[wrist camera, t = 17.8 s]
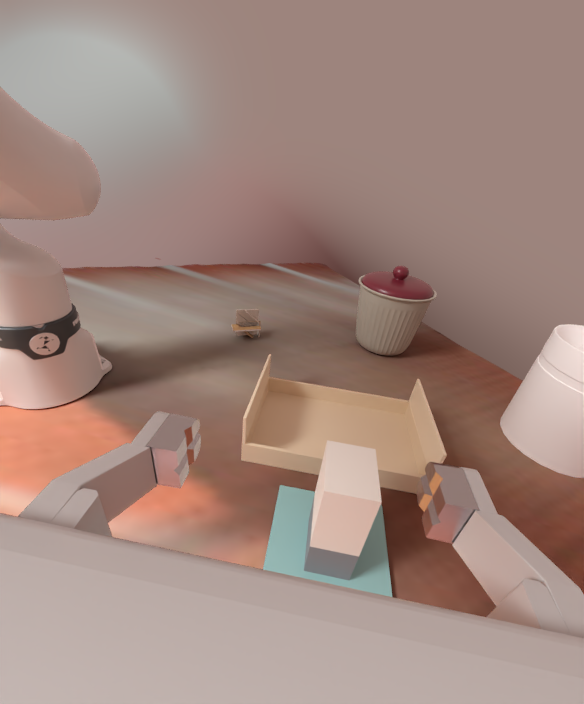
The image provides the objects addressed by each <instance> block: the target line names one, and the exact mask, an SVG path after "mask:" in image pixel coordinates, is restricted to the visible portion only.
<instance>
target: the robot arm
mask: <svg viewBox="0 0 584 704" xmlns="http://www.w3.org/2000/svg"><path fill="white" fill-rule="evenodd" d="M100 193H101V184H100V178H99V174H98V171H97V169H96V166H95V164H94V163H93V161H92V159H91V157H90V156H89V155H88V153H87V152H86V151H85V150H84V148H83V147H82V146H81V145H80V144H79V143H77V142H76V141H75V140H74V139H72V138H70V137H68V136H66V135H63V134H62V133H60V132H58V131H56V130H54V129H52V128H51V127H49V126H47V125H46V124H44V123H43V122H41V121H40V120H38V119H37V118H36V117H34V116H33V115H32V114H30V113H29V112H28V111H27V110H25V109H24V108H22V107H21V106H20V105H19V104H18V103H17V102H16V101H15V100H14V99H12V98H11V97H10V96H9V95H8V94H7V93H6V92H5V91H4V90H3V89H2V88H1V87H0V218H6V219H32V220H34V219H35V220H60V219H67V218H74V217H81V216H87V215H90V214H91V212H92V211H93V210H94V209H95V207H96V206H97V204H98V201H99V198H100ZM111 369H112V364H111V362H109V361H108V360H107V359H105V358H104V357H102V356H101V355H99V353H98V349H97V346H96V343H95V340H94V337H93V334H92V333H89V332H88V331H87V330H85V329H82V328H81V327H80V321H79V315H78V312H77V311H76V308H75V306H74V305H73V304H72V303H71V300H70V296H69V293H68V289H67V285H66V282H65V278H64V274H63V270H62V267H61V265H60V264H59V263H58V261H57V260H56V259H55V258H54V257H53V256H52V255H51V254H49V253H48V252H47V251H45V250H43V249H41V248H39V247H37V246H34V245H32V244H29V243H26V242H24V241H21V240H19V239H17V238H16V237H14V236H13V235H11V234H10V233H9V232H8V231H7V230H6V229H5V228H4V227H3V226H2V225H1V224H0V406H1V405H8V406H13V407H17V408H22V409H42V408H49V407H54V406H58V405H62V404H65V403H68V402H71V401H73V400H76V399H78V398H80V397H82V396H83V395H85V394H87V393H88V392H90V391H91V390H92V389H93V388H95V387H96V385H97V384H98V383H99V381H100V380H101V378H102V376H103V375H105V374H106V373H107V372H109V371H110V370H111ZM199 428H200V421H199V420H198V419H195V418H190V417H186V416H181V415H176V414H170V413H165V412H161V411H158V412H156V413H154V415H153V416H152V417H151V418H150V420H149V421H148V422H147V423H146V425H145V426H144V427H143V429H142V430H141V431H140V432H139V434H138V435H137V436H136V438H135V439H134V440H133V441H132V443H131V444H129V443H126V444H124V445H122V446H120V447H118V448H116V449H114V450H112V451H110V452H108V453H106V454H104V455H102V456H100V457H98V458H96V459H94V460H92V461H90V462H88V463H86V464H84V465H82V466H80V467H78V468H75V469H73V470H71V471H69V472H67V473H65V474H63V475H61V476H59V477H57V478H55V479H53V480H52V481H51V482H50V483H49V484H48V485H47V486H46V487H45V488H44V489H43V490H42V491H41V493H40V494H39V495H38V496H37V497H36V498H35V499H34V500H33V501H32V502H31V503H30V504H29V505H28V506H27V507H26V508H25V509H24V511H23V512H22V513H21V514H20V515H19V516H18V517H17V516H12V515H7V514H3V513H0V704H584V594H583V592H582V591H581V589H580V588H579V587H578V586H577V585H576V584H575V583H574V582H573V581H572V580H571V579H570V578H569V577H567V576H566V575H565V574H564V573H563V572H562V571H561V570H560V569H559V568H558V567H557V566H556V565H555V564H554V563H553V562H552V561H550V560H549V559H548V558H547V557H546V556H545V555H544V554H543V553H542V552H541V551H540V550H539V549H538V548H537V547H536V546H535V545H534V544H532V543H531V542H530V541H529V540H528V539H527V538H526V537H525V536H524V535H523V534H522V533H521V532H520V531H519V530H518V529H517V528H515V527H514V526H513V525H512V524H511V523H510V522H509V521H508V520H507V519H506V518H505V517H504V516H502V515H498V513H497V511H496V509H495V507H494V505H493V502H492V500H491V498H490V496H489V494H488V491H487V489H486V487H485V485H484V483H483V480H482V478H481V476H480V474H479V472H478V471H477V470H475V469H469V468H464V467H458V466H452V465H447V464H441V463H435V462H429V463H428V464H427V465H426V467H425V472H426V475H424V476H422V477H421V478H420V480H419V482H418V486H417V500H418V505H419V507H420V508H421V509H422V510H423V511H424V514H423V516H422V518H421V519H422V523H423V527H424V532H425V536H426V538H430V539H434V540H439V541H443V542H447V543H452V545H453V547H454V548H455V550H456V551H457V552H458V554H459V555H460V557H461V558H462V559H463V561H464V562H465V564H466V565H467V566H468V568H469V569H470V570H471V572H472V573H473V575H474V576H475V577H476V579H477V580H478V582H479V583H480V584H481V586H482V587H483V589H484V590H485V591H486V593H487V594H488V595H489V597H490V598H491V600H492V601H493V602H494V604H495V605H496V608H495V609H494V610H493V611H492V612H491V613H490V614H489V615H488V616H487V617H482V616H478V615H473V614H468V613H464V612H459V611H454V610H450V609H445V608H440V607H436V606H431V605H426V604H422V603H417V602H412V601H408V600H403V599H398V598H394V597H389V596H384V595H380V594H375V593H371V592H366V591H361V590H357V589H352V588H347V587H343V586H338V585H333V584H329V583H324V582H319V581H315V580H310V579H305V578H301V577H296V576H291V575H287V574H282V573H277V572H273V571H268V570H263V569H259V568H254V567H249V566H244V565H240V564H235V563H230V562H226V561H221V560H217V559H212V558H207V557H203V556H198V555H193V554H189V553H184V552H179V551H175V550H170V549H165V548H161V547H156V546H151V545H147V544H142V543H137V542H133V541H128V540H123V539H119V538H114V537H112V534H111V531H110V528H109V525H108V522H110V521H111V520H112V519H114V518H115V517H116V516H118V515H119V514H120V513H122V512H123V511H124V510H125V509H127V508H128V507H129V506H131V505H132V504H133V503H135V502H136V501H137V500H139V499H140V498H141V497H143V496H144V495H145V494H147V493H148V492H149V491H150V490H152V489H153V488H154V487H156V486H157V484H158V485H164V486H170V487H176V488H181V487H182V485H183V483H184V481H185V479H186V477H187V475H188V473H189V465H190V464H192V463H193V462H195V460H196V458H197V455H198V452H199V449H200V444H201V436H200V435H199V433H198V430H199Z"/></svg>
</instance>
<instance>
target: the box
mask: <svg viewBox="0 0 584 704" xmlns="http://www.w3.org/2000/svg"><path fill="white" fill-rule="evenodd" d="M381 503H382V501H381V492H380V484H379V475H378V466H377V457H376V449H372V448H367V447H361V446H356V445H350V444H345V443H339V442H334V441H329V440H327V443H326V447H325V451H324V456H323V460H322V464H321V469H320V473H319V477H318V482H317V486H316V490H315V495H314V499H313V503H312V508H311V512H310V516H309V523H308V533H307V543H306V553H305V563H304V571H307V572H312V573H316V574H321V575H326V576H330V577H335V578H340V579H344V580H349V579H350V577H351V575H352V572H353V570H354V567H355V565H356V563H357V560H358V558H359V555H360V553H361V551H362V548H363V546H364V543H365V541H366V539H367V536H368V534H369V531H370V529H371V527H372V524H373V522H374V519H375V517H376V515H377V512H378V510H379V507H380V505H381Z"/></svg>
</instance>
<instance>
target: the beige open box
mask: <svg viewBox="0 0 584 704" xmlns="http://www.w3.org/2000/svg"><path fill="white" fill-rule="evenodd" d="M270 363H271V354H269V355H268V358H267V360H266V363H265V365H264V368H263V370H262V373H261V375H260V378H259V380H258V383H257V385H256V388H255V390H254V392H253V395H252V397H251V400H250V402H249V405H248V407H247V410H246V412H245V415H244V417H243V437H242V455H241V460H243V461H248V462H253V463H258V464H263V465H269V466H274V467H279V468H284V469H289V470H295V471H300V472H305V473H310V474H315V475H319V473H320V469H321V464H322V460H323V456H324V451H325V447H326V443H327V440H329V441H334V442H339V443H345V444H350V445H356V446H361V447H367V448H372V449H376V457H377V466H378V475H379V484H380V487H383V488H388V489H394V490H399V491H404V492H409V493H415V494H417V486H418V482H419V480H420V478H421V477H422V476H424V475H426V472H425V467H426V465H427V464H428V463H429V462H435V463H441V464H442V463H443V461H444V460H445V458H446V456H447V454H446V451H445V449H444V446H443V443H442V440H441V437H440V435H439V432H438V429H437V426H436V424H435V421H434V418H433V415H432V412H431V410H430V407H429V404H428V401H427V399H426V396H425V393H424V390H423V387H422V385H421V382H420V379H417V381H416V383H415V386H414V389H413V391H412V394H411V396H410V399H409V401H407V400H402V399H396V398H390V397H384V396H378V395H373V394H367V393H361V392H355V391H349V390H344V389H338V388H332V387H326V386H320V385H315V384H309V383H303V382H297V381H291V380H286V379H280V378H274V377H269V374H270Z"/></svg>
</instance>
